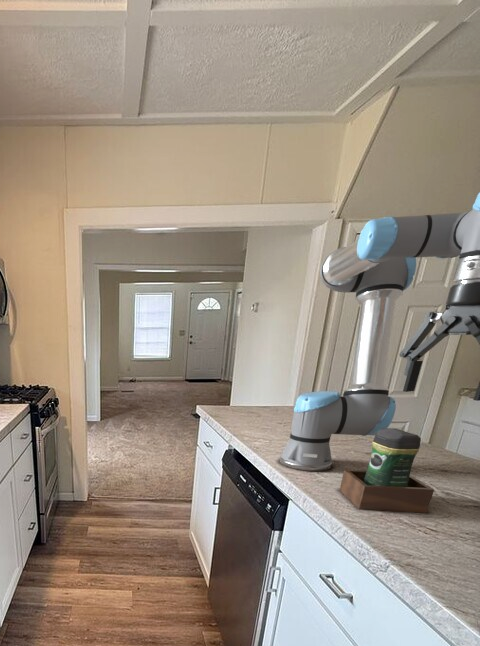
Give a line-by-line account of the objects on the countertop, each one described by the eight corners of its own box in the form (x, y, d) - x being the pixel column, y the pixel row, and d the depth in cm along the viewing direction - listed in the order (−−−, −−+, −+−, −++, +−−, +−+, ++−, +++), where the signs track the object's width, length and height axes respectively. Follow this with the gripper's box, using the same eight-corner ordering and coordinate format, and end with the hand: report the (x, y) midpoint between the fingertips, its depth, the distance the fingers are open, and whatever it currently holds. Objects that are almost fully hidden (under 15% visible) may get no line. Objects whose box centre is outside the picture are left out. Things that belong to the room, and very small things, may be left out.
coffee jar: (408, 508, 99) (431, 434, 92) (376, 508, 100) (396, 435, 93) (383, 493, 108) (402, 425, 101) (353, 493, 109) (370, 426, 102)
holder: (339, 490, 111) (344, 469, 109) (399, 493, 109) (405, 472, 106) (359, 509, 99) (364, 486, 97) (426, 512, 97) (434, 489, 95)
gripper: (397, 288, 86) (372, 389, 95) (553, 273, 65) (503, 406, 73) (420, 289, 89) (394, 387, 97) (578, 275, 67) (527, 402, 75)
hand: (441, 395), depth 85 cm, fingers open, 13 cm apart
